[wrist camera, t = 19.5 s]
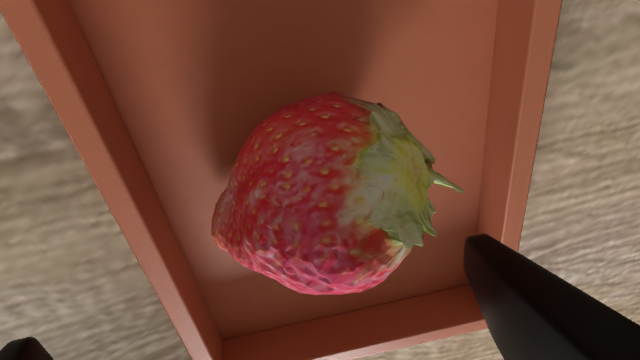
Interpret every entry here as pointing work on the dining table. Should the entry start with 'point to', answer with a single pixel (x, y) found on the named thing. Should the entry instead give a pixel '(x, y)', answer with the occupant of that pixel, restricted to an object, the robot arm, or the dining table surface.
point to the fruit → (327, 196)
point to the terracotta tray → (265, 99)
